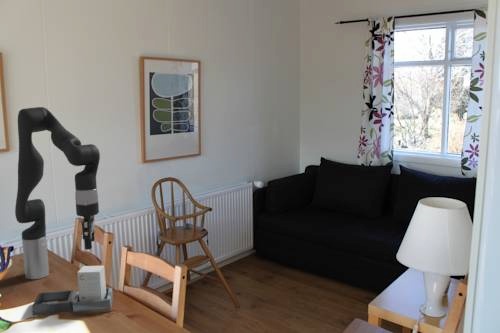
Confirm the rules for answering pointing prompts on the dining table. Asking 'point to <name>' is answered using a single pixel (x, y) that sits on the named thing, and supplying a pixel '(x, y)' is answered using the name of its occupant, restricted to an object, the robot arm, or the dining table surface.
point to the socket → (53, 307)
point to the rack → (93, 304)
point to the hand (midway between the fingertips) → (89, 245)
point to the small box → (91, 283)
